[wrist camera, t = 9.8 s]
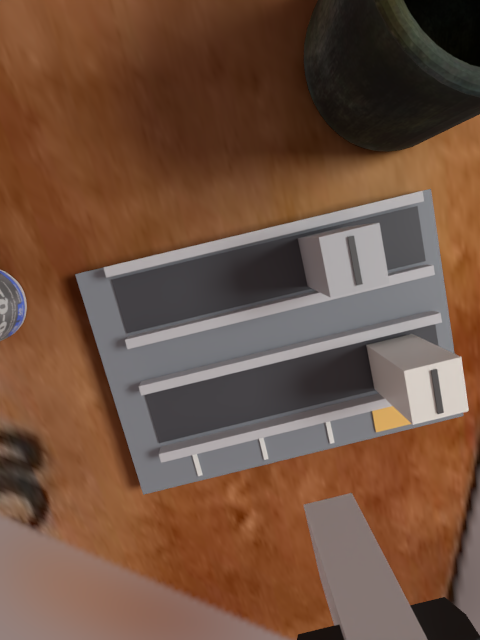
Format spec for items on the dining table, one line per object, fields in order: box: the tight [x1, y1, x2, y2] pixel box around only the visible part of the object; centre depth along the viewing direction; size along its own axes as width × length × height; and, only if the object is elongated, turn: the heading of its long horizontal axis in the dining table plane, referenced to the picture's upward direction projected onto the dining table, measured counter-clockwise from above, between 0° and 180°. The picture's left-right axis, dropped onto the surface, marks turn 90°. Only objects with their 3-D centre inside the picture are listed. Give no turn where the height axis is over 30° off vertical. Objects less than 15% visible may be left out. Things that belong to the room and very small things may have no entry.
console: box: [75, 189, 463, 494], centre depth 25 cm, size 15×22×7 cm
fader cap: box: [366, 334, 469, 425], centre depth 25 cm, size 3×3×6 cm
